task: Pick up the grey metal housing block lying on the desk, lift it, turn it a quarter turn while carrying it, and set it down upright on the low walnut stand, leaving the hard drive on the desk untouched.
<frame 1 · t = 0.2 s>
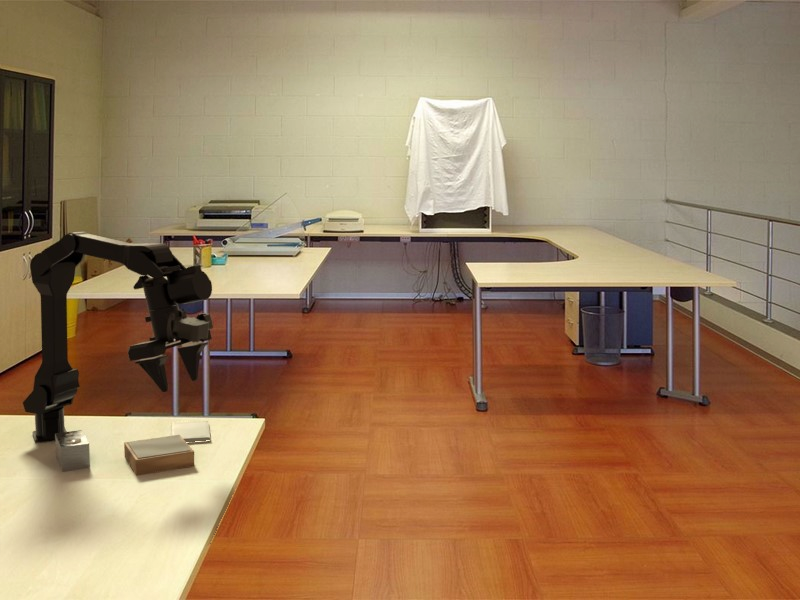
hand: (180, 386, 157), 15 cm above the table, tool pointing down, fingers open, 9 cm apart
housing: (72, 462, 157), on the table
hard drive: (190, 437, 175), on the table
stand: (159, 461, 158), on the table
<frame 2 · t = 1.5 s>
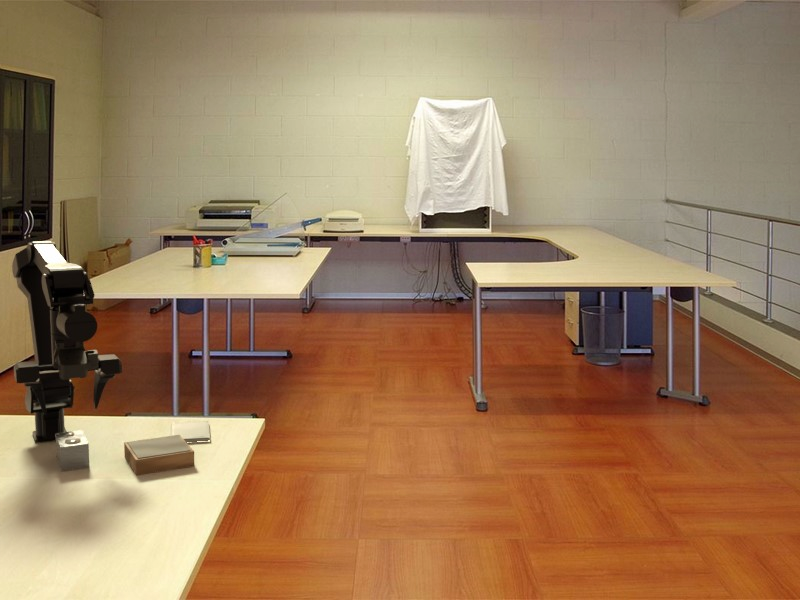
hand: (70, 411, 155), 10 cm above the table, tool pointing down, fingers open, 9 cm apart
nothing on the table moved.
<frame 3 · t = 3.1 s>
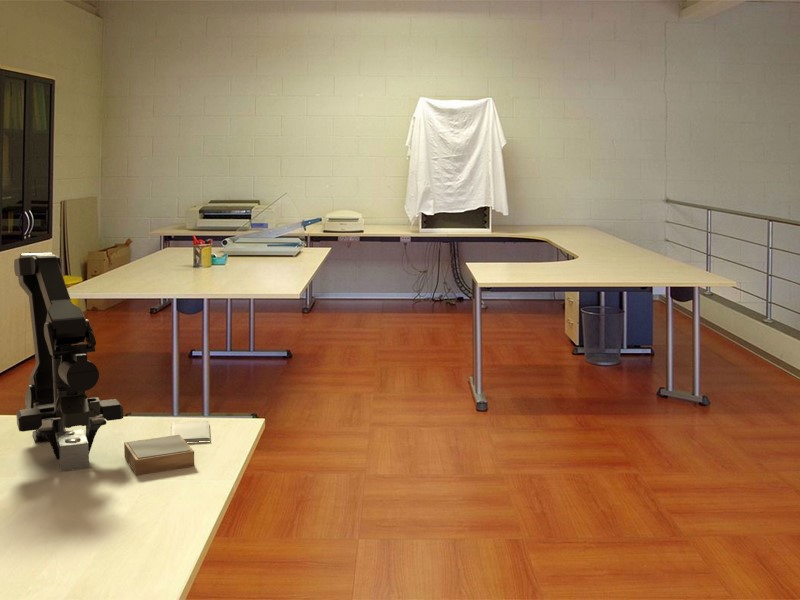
hand: (72, 456, 157), 1 cm above the table, tool pointing down, fingers closed on housing, 5 cm apart
housing: (72, 462, 157), on the table, touching gripper
everything else where it was.
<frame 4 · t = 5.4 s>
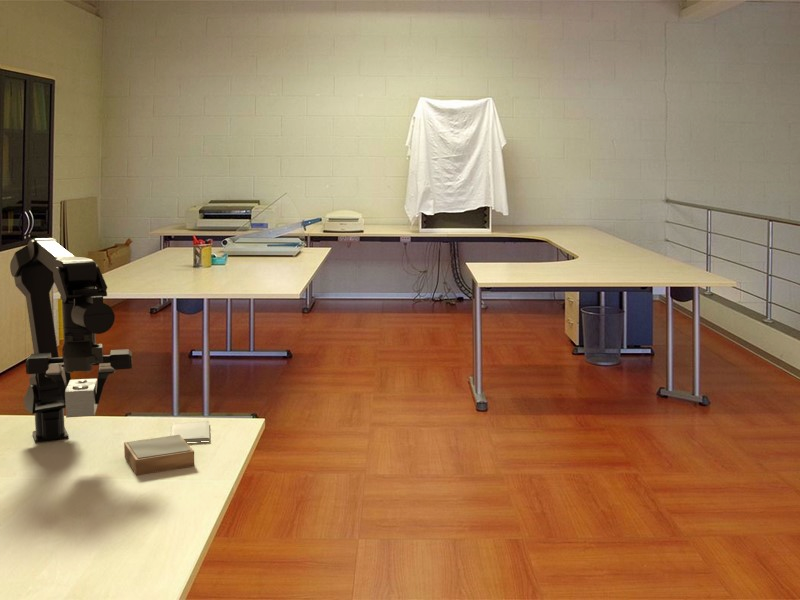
hand: (82, 404, 155), 12 cm above the table, tool pointing down, fingers closed on housing, 5 cm apart
housing: (82, 410, 155), point 11 cm above the table, touching gripper
everything else where it was.
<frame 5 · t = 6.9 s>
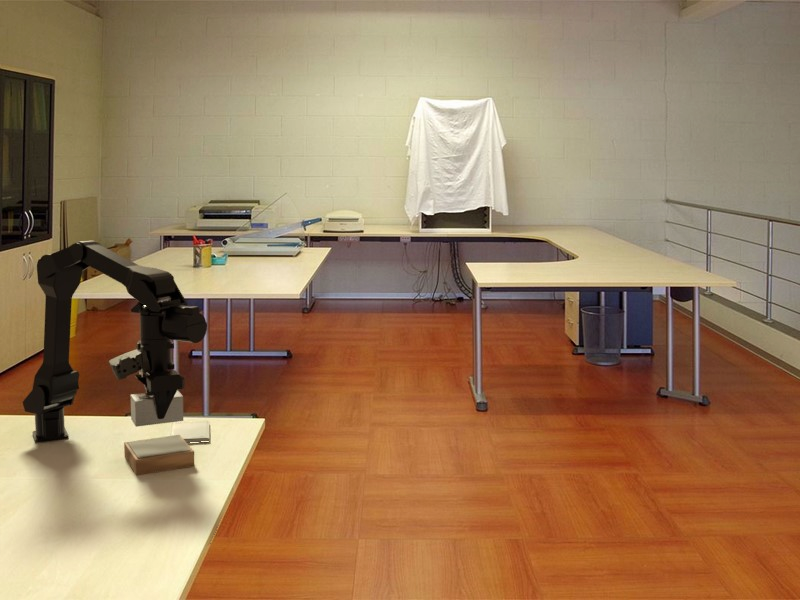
hand: (157, 415, 157), 9 cm above the table, tool pointing down, fingers closed on housing, 5 cm apart
housing: (157, 420, 157), point 8 cm above the table, touching gripper
everything else where it was.
when the fingers open (5 cm above the table, at t = 7.9 s): housing drops 1 cm, resting on stand.
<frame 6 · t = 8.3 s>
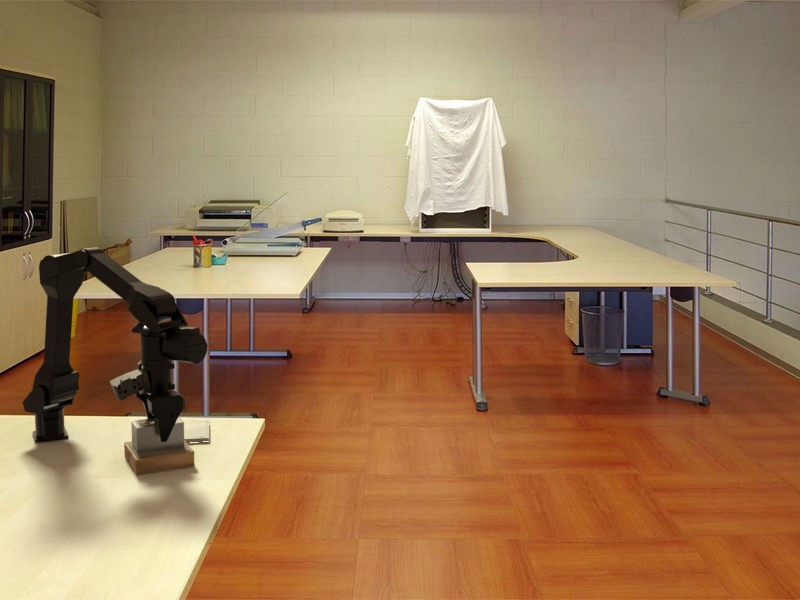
hand: (158, 434, 157), 5 cm above the table, tool pointing down, fingers open, 9 cm apart
housing: (158, 446, 158), point 3 cm above the table, touching stand
everything else where it was.
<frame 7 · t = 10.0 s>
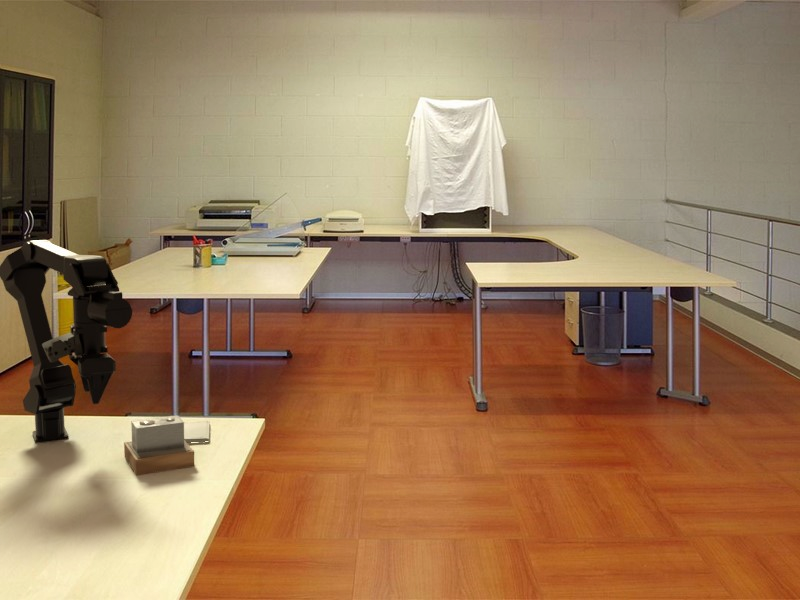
hand: (91, 397, 160), 12 cm above the table, tool pointing down, fingers open, 9 cm apart
nothing on the table moved.
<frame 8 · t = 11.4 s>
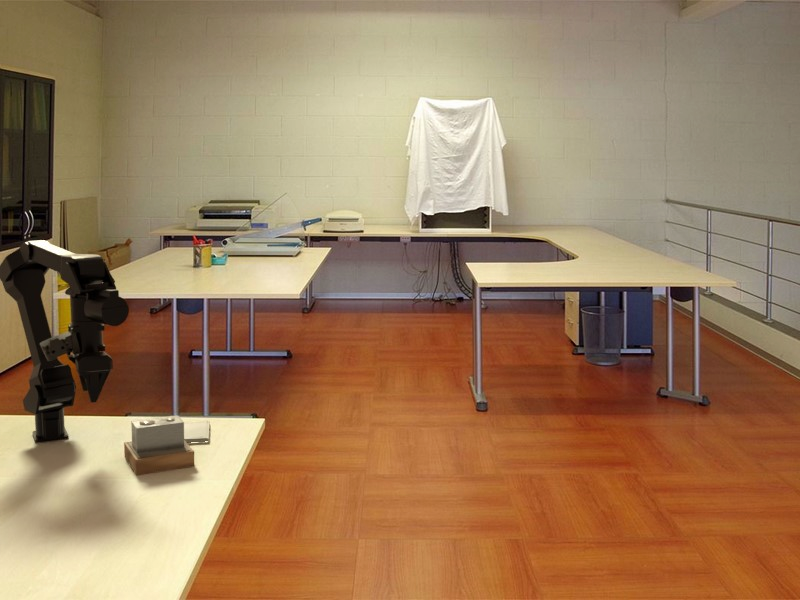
hand: (89, 396, 160), 12 cm above the table, tool pointing down, fingers open, 9 cm apart
nothing on the table moved.
at the end: housing inside the target area on the stand (0.1 cm from its centre), point 3.1 cm above the stand's base; housing tilted 0°; the gripper is holding nothing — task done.
